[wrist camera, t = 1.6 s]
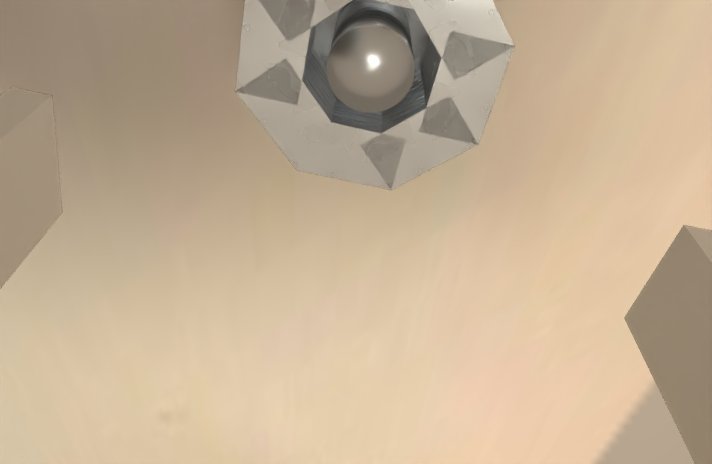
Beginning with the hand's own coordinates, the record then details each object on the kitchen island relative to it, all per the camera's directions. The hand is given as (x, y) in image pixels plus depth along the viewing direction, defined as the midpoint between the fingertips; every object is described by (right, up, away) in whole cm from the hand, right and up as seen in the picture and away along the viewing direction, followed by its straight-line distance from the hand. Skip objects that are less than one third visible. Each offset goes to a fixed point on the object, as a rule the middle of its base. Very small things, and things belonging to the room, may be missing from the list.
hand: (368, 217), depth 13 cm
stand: (+1, +10, +15) cm, 19 cm away
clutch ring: (0, +8, +11) cm, 14 cm away
